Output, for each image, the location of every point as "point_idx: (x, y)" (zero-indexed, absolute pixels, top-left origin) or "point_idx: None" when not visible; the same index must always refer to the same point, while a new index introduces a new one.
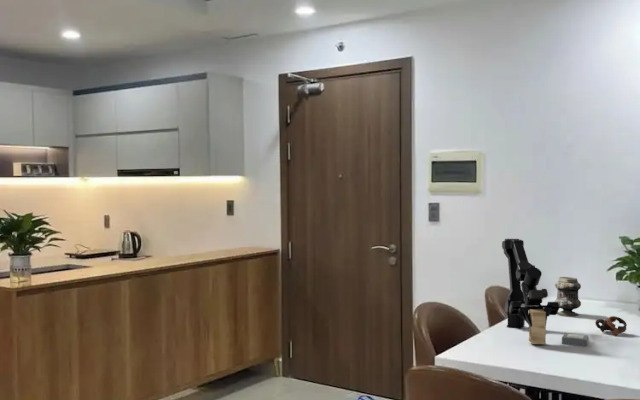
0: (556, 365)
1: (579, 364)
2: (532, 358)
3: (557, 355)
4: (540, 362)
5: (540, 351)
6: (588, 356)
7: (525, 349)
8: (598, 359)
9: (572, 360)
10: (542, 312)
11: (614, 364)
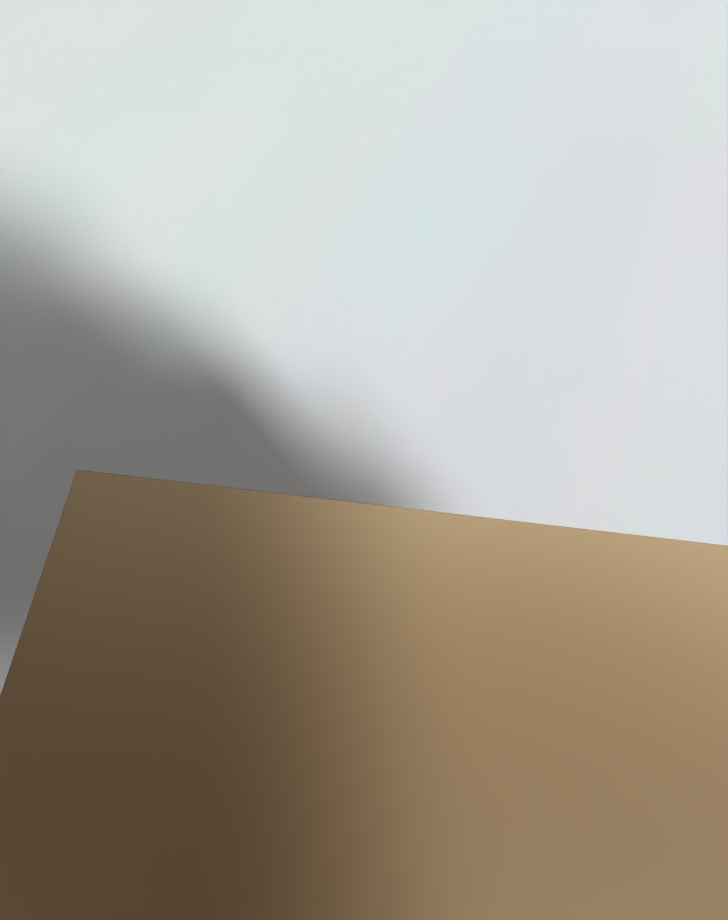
0: (508, 10)
1: (312, 19)
2: (653, 174)
3: (361, 244)
4: (613, 75)
5: (481, 401)
6: (73, 195)
7: (643, 506)
8: (55, 113)
9: (306, 103)
10: (264, 510)
11: (38, 5)
